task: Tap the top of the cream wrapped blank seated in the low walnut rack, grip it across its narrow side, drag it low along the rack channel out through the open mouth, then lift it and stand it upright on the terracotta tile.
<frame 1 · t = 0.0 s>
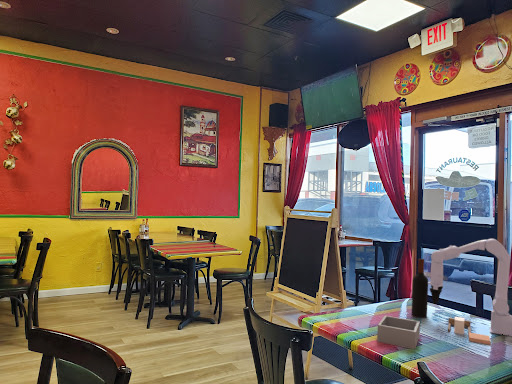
hand: (435, 301, 201), 10 cm above the table, fingers open, 7 cm apart
tile: (479, 340, 175), on the table
wine bottle: (419, 316, 210), on the table
blank: (459, 331, 186), on the table
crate: (398, 339, 171), on the table
rack: (459, 329, 190), on the table
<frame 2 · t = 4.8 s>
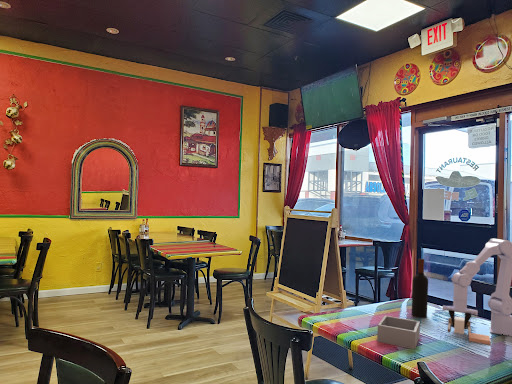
hand: (459, 327, 186), 2 cm above the table, fingers closed on blank, 4 cm apart
blank: (459, 331, 186), on the table, touching gripper
everything else where it was.
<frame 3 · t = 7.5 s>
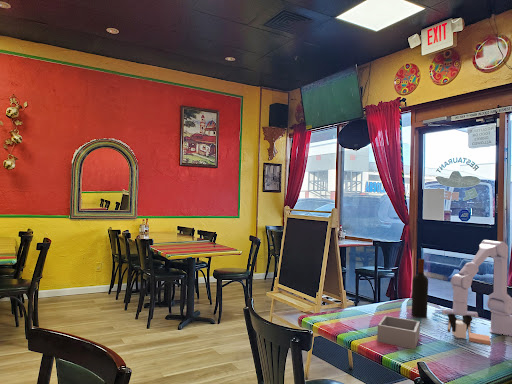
hand: (459, 331, 178), 2 cm above the table, fingers closed on blank, 4 cm apart
blank: (458, 335, 178), point 1 cm above the table, touching gripper
everything else where it was.
when the fingers open (4 cm above the table, at t = 10.3 s): blank stays where it is, resting on tile.
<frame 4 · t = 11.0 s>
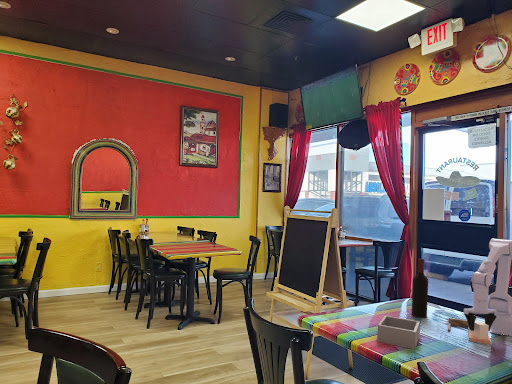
hand: (479, 330, 175), 4 cm above the table, fingers open, 7 cm apart
blank: (479, 336, 175), point 1 cm above the table, touching tile
everything else where it was.
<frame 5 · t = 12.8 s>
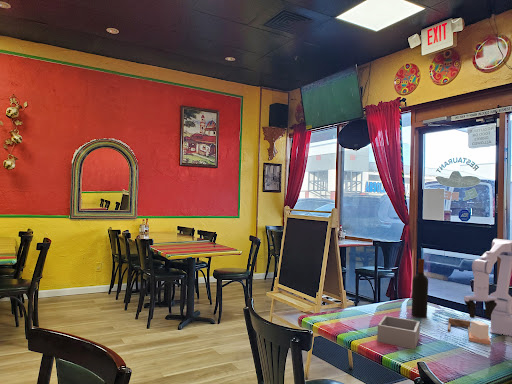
hand: (479, 317, 175), 10 cm above the table, fingers open, 7 cm apart
nothing on the table moved.
at the end: blank inside the target area on the tile (0.0 cm from its centre), point 1.5 cm above the tile's base; blank tilted 0°; the gripper is holding nothing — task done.
